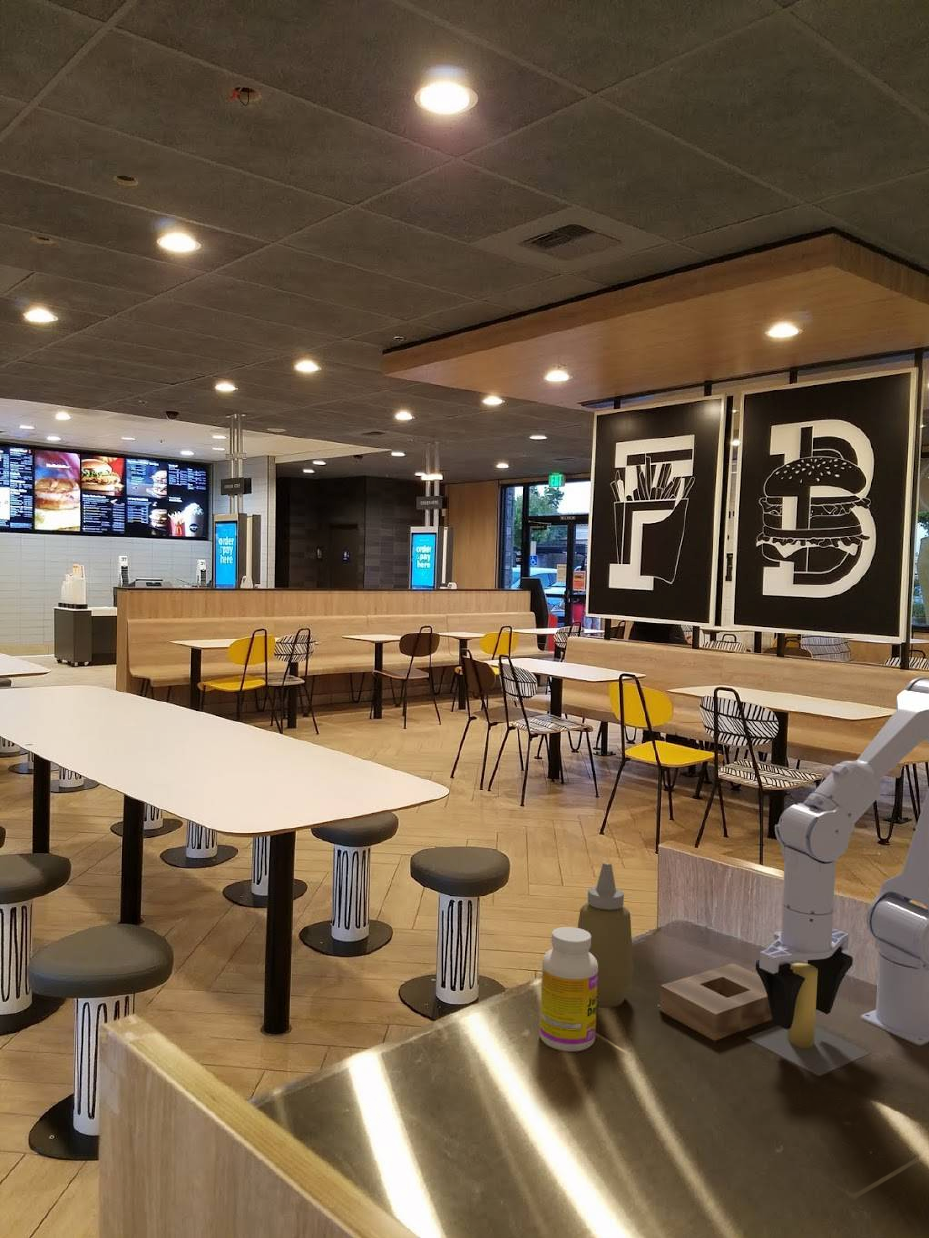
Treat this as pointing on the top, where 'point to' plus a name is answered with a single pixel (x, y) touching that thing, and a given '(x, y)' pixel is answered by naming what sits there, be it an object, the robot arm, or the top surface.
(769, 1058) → the top surface
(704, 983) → the walnut block
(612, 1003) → the squeeze bottle
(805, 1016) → the peg
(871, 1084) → the top surface
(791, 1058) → the mat
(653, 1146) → the top surface
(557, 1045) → the supplement bottle
